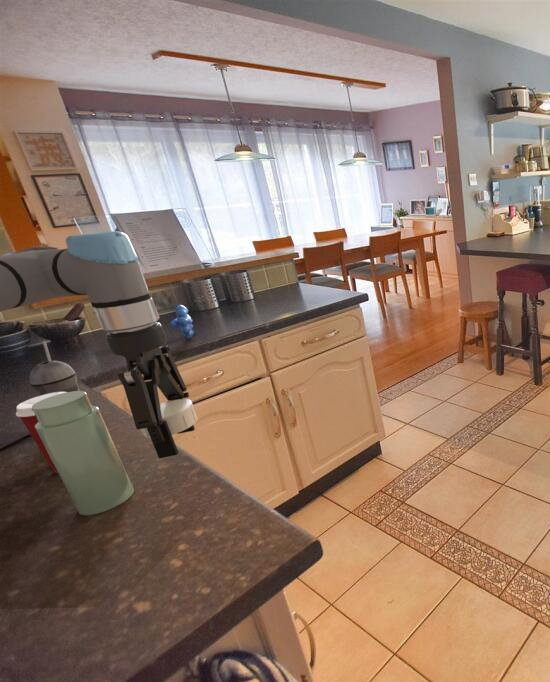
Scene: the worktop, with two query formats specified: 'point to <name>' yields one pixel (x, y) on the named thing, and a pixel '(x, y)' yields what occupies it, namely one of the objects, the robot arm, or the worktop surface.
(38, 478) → the worktop surface
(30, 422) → the paper cup
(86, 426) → the thermos
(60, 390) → the beverage cup
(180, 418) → the thermos lid
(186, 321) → the grapes
